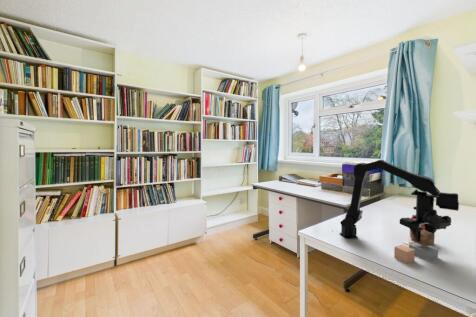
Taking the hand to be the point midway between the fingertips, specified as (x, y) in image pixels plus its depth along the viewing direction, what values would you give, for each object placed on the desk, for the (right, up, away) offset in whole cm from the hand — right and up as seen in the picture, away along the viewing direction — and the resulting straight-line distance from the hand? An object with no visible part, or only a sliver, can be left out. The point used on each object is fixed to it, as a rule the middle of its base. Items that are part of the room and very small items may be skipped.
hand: (423, 240), depth 95 cm
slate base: (0, -7, 0) cm, 7 cm away
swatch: (+4, -6, +9) cm, 11 cm away
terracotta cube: (-11, -7, -3) cm, 13 cm away
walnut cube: (0, -1, 0) cm, 1 cm away
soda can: (+10, -5, +14) cm, 18 cm away
